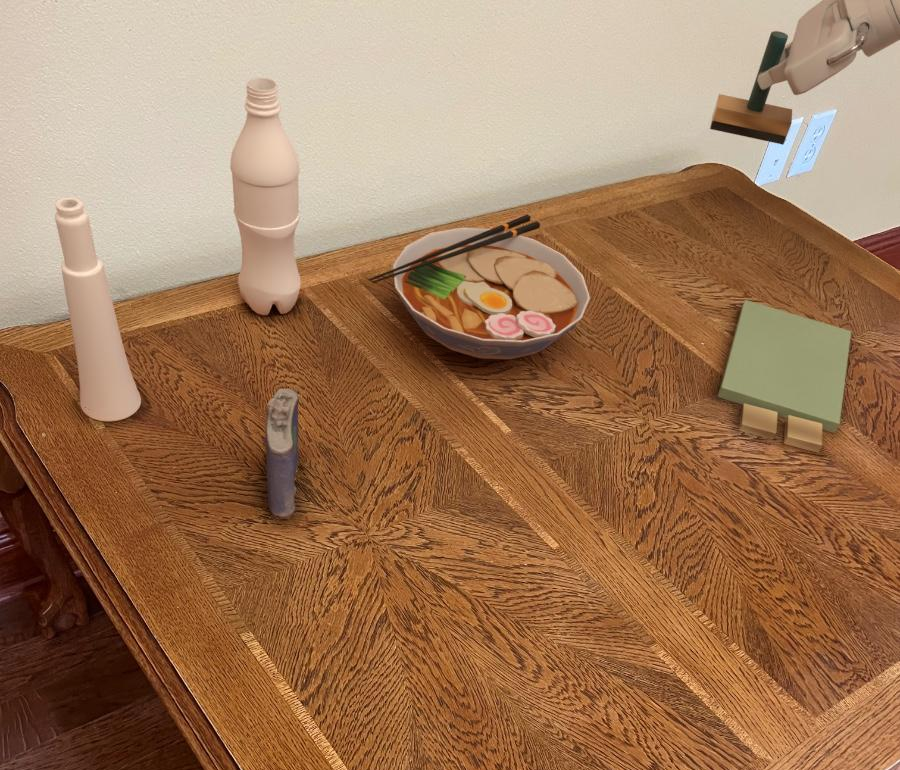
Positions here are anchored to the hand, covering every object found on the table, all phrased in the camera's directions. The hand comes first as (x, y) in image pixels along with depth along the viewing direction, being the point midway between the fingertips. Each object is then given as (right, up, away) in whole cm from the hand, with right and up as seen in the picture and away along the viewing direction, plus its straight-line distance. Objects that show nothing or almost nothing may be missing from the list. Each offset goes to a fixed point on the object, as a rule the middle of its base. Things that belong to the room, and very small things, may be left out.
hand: (761, 77), depth 123 cm
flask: (-57, -57, -29) cm, 86 cm away
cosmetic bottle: (-76, -48, -24) cm, 93 cm away
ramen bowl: (-37, -37, -10) cm, 53 cm away
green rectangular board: (+1, -40, -7) cm, 40 cm away
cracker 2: (0, -50, -15) cm, 52 cm away
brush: (0, -4, +5) cm, 7 cm away
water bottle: (-62, -33, -11) cm, 71 cm away
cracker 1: (-5, -48, -14) cm, 50 cm away
